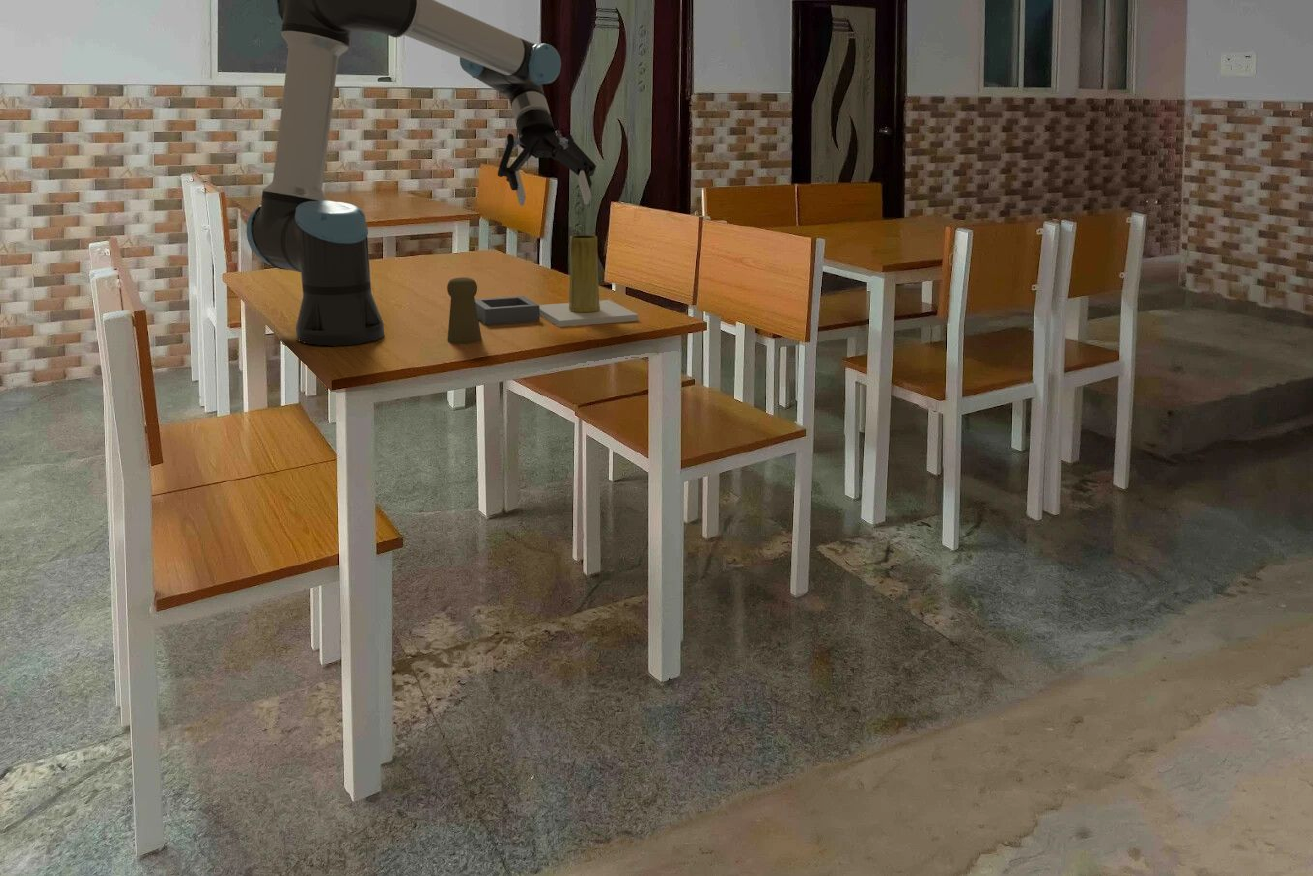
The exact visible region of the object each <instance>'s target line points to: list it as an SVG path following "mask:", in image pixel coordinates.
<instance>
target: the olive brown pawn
mask: <svg viewBox="0 0 1313 876" xmlns="http://www.w3.org/2000/svg"><path fill="white" fill-rule="evenodd" d="M446 290H447V291H446V292H447V294H448V296H449V297H450V303H449V304H450V305H449V316H448V317H449V318H448V329H447V342H449V343H452V344H460V345H461V344H464V345H465V344H466V345H467V344H475V343H478V342H481V341H482V339H483V337H482V333H481V328H480V322H479V321H480V320H478V315H477V309H476V304H475V299H476V298H475V297H476V295H477V293H478V284H477V282H476V280H475V279H473V278H470V277H463V276H462V277H460V276H459V277H455V278H451V279H449V281H448V283H447V286H446Z"/></svg>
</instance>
